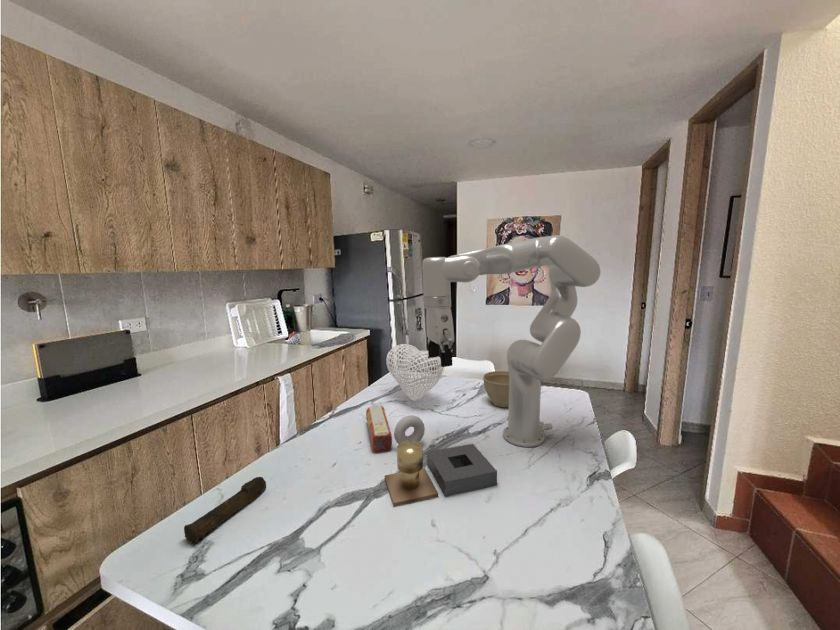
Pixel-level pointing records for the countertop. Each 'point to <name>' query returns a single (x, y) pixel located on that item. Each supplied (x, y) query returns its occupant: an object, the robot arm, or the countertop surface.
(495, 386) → the planter bowl
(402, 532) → the countertop surface
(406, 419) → the donut
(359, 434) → the countertop surface
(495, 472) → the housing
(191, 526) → the hand tool
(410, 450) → the end cover
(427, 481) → the board
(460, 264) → the robot arm
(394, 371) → the heart
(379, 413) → the snack package
